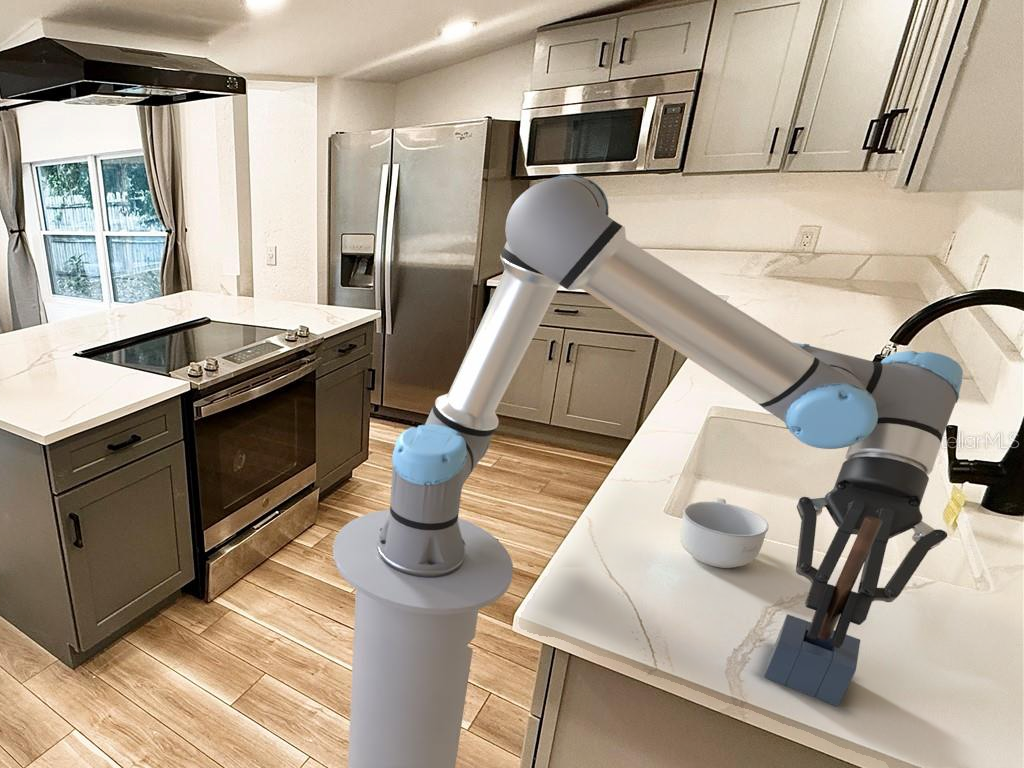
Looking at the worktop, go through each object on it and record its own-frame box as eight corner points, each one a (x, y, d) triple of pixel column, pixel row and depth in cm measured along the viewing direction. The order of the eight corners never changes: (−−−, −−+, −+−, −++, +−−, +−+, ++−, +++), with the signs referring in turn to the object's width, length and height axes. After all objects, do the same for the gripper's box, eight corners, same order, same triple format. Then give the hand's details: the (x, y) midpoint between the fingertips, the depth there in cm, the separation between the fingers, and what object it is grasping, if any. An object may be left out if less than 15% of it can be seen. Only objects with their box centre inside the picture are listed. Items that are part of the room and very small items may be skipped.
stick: (813, 636, 76) (864, 519, 69) (815, 630, 77) (865, 514, 70) (828, 641, 75) (882, 523, 68) (830, 636, 76) (882, 519, 69)
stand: (764, 677, 79) (778, 641, 77) (772, 648, 83) (787, 613, 81) (837, 707, 74) (856, 670, 72) (843, 675, 79) (860, 639, 76)
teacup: (749, 585, 95) (765, 542, 92) (667, 560, 102) (679, 519, 99) (758, 545, 104) (773, 505, 101) (682, 524, 111) (693, 486, 108)
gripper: (962, 497, 74) (903, 676, 71) (804, 463, 84) (745, 619, 80) (984, 473, 69) (921, 666, 65) (812, 440, 78) (749, 606, 75)
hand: (824, 640), depth 73 cm, fingers closed on stick, 1 cm apart
